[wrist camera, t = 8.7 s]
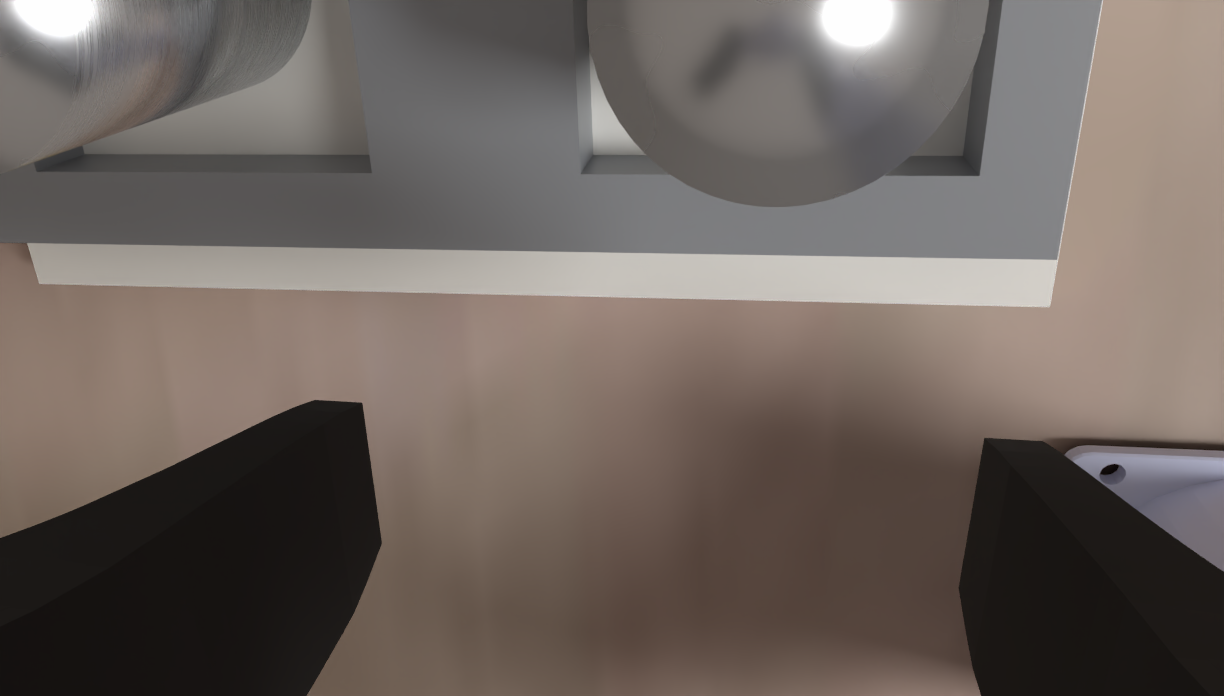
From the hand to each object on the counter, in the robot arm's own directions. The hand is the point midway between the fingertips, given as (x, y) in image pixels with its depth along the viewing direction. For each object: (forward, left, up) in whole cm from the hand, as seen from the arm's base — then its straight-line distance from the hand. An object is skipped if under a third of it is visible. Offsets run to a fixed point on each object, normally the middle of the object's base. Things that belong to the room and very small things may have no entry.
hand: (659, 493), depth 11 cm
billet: (-1, -5, -9) cm, 10 cm away
